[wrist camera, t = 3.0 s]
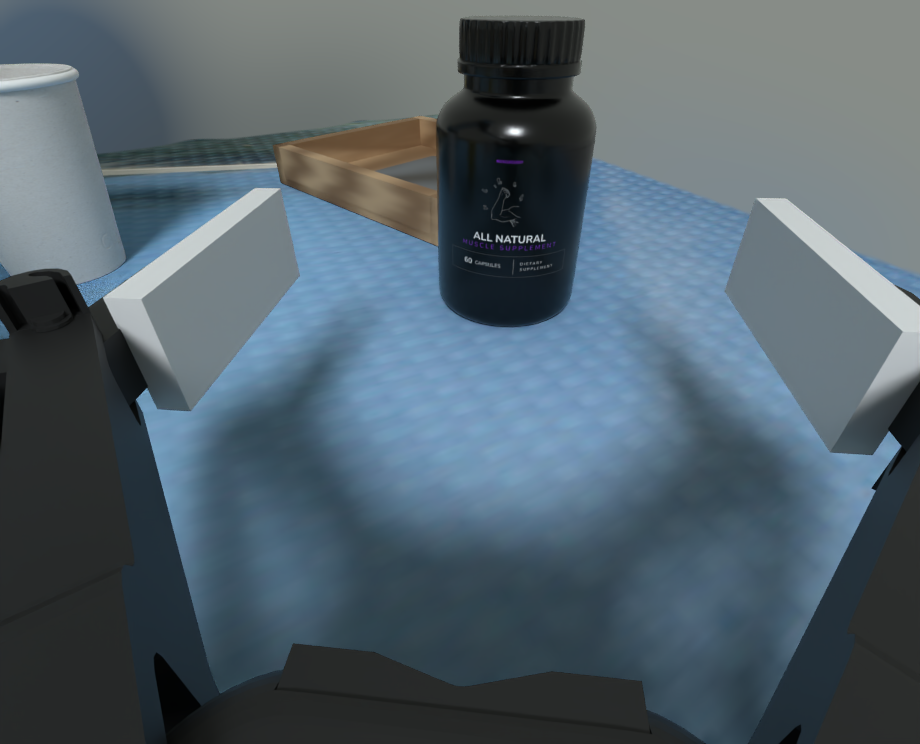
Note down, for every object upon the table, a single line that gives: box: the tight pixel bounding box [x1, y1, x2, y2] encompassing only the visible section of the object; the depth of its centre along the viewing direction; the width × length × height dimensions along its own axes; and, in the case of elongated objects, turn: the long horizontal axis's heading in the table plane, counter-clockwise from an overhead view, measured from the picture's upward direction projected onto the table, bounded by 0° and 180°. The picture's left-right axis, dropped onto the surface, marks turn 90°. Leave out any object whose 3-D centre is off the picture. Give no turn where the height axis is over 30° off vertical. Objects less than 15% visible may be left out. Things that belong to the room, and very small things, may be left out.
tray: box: [273, 116, 438, 246], centre depth 41 cm, size 20×16×3 cm
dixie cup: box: [0, 64, 126, 285], centre depth 27 cm, size 8×8×10 cm
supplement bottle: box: [436, 16, 596, 327], centre depth 23 cm, size 7×7×12 cm
